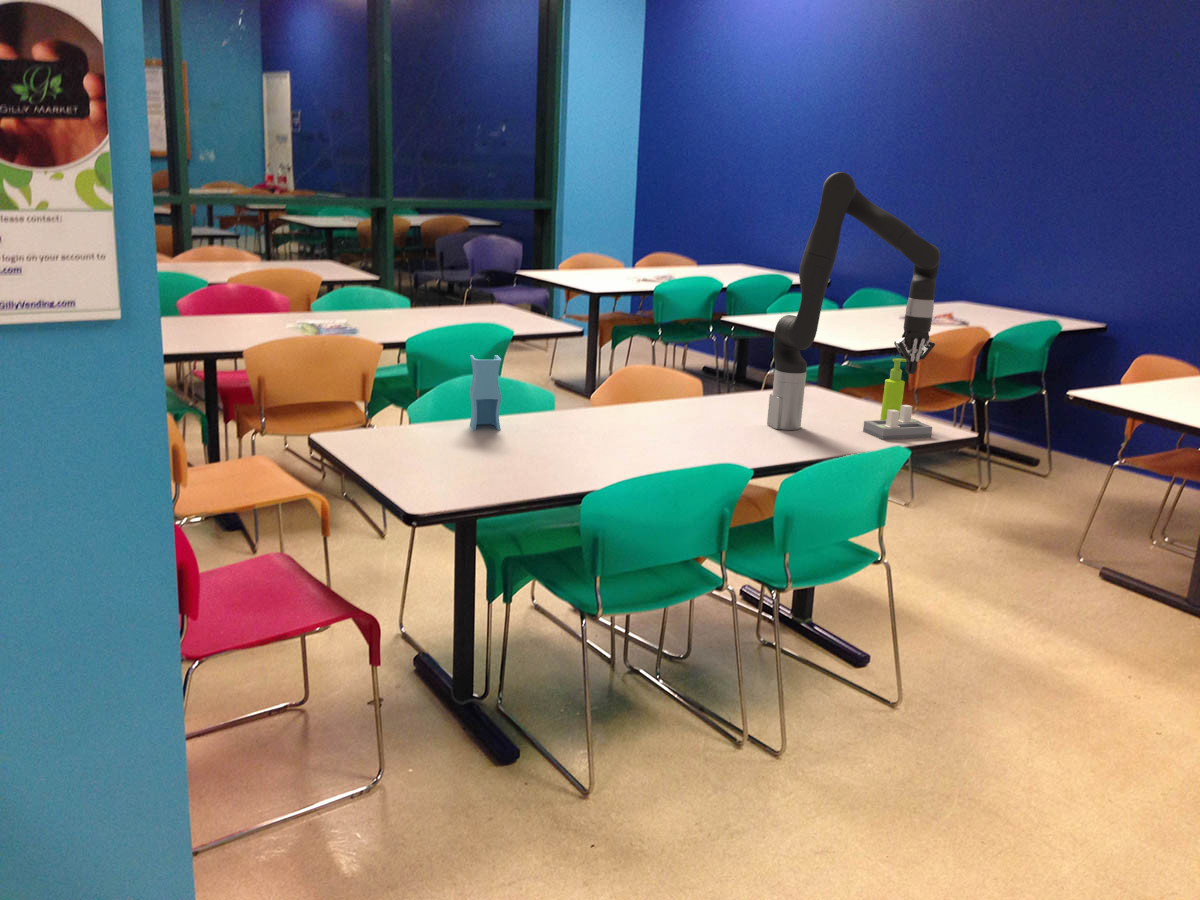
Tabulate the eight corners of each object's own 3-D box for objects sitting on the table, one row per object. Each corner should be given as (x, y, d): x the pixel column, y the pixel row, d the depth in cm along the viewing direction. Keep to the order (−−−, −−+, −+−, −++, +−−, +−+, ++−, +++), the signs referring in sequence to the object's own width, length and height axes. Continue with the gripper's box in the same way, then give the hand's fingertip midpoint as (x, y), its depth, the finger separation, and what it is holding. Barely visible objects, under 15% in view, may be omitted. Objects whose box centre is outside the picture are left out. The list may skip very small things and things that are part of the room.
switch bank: (882, 439, 299) (883, 428, 298) (862, 431, 308) (864, 420, 308) (930, 437, 305) (932, 426, 304) (910, 428, 314) (911, 418, 313)
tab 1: (887, 433, 301) (890, 412, 299) (881, 431, 304) (884, 409, 302) (899, 433, 302) (902, 411, 300) (893, 430, 305) (896, 409, 303)
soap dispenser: (905, 424, 319) (913, 361, 314) (882, 423, 319) (890, 360, 314) (900, 420, 325) (908, 357, 320) (878, 419, 325) (886, 356, 320)
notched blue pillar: (496, 423, 297) (497, 354, 291) (500, 430, 290) (502, 360, 284) (468, 423, 295) (469, 354, 289) (472, 430, 287) (473, 360, 282)
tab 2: (901, 428, 308) (904, 407, 306) (895, 426, 311) (898, 404, 309) (912, 428, 309) (915, 406, 307) (906, 425, 312) (909, 404, 310)
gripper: (907, 316, 290) (898, 376, 295) (946, 316, 295) (937, 376, 299) (891, 312, 297) (883, 371, 302) (930, 313, 302) (921, 371, 306)
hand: (910, 373), depth 300 cm, fingers closed
